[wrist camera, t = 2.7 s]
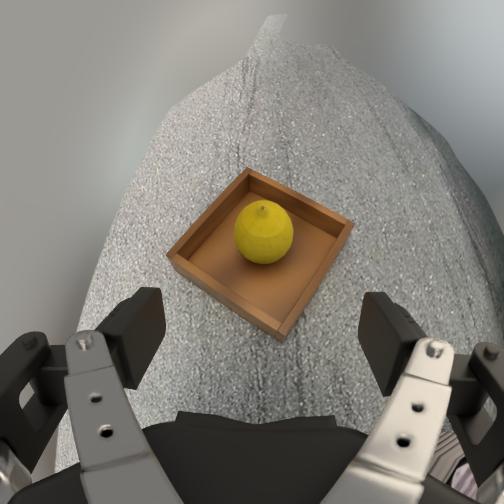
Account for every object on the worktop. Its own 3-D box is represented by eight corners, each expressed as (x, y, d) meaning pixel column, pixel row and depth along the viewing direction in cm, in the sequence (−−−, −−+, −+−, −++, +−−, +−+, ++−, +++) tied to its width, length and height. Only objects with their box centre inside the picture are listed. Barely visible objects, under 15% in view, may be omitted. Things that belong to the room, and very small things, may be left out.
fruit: (285, 281, 30) (292, 241, 23) (231, 271, 30) (222, 229, 23) (292, 234, 32) (301, 186, 25) (243, 226, 33) (238, 177, 26)
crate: (174, 269, 31) (165, 254, 28) (248, 186, 36) (246, 166, 33) (282, 343, 27) (285, 336, 24) (347, 240, 32) (355, 223, 29)
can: (394, 422, 23) (467, 426, 12) (473, 431, 21) (548, 427, 10) (354, 520, 18) (401, 571, 7) (439, 520, 16) (503, 547, 5)
